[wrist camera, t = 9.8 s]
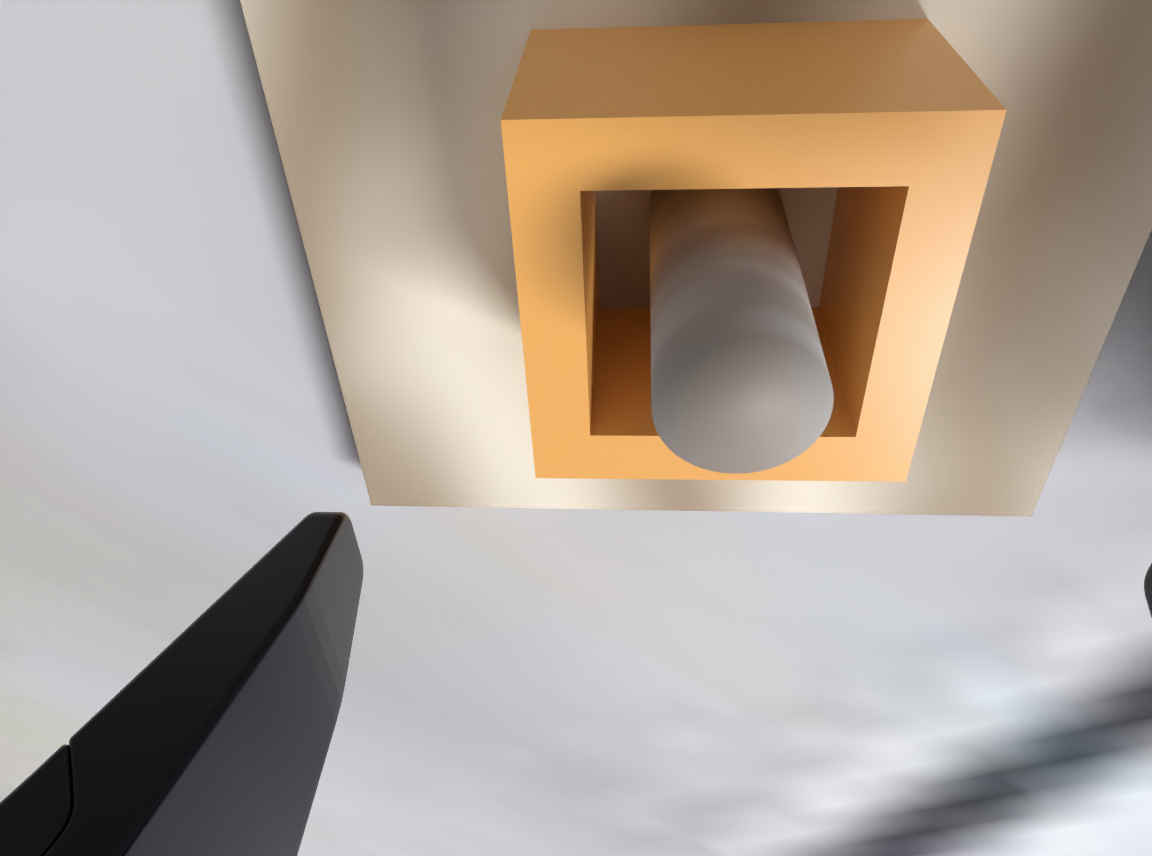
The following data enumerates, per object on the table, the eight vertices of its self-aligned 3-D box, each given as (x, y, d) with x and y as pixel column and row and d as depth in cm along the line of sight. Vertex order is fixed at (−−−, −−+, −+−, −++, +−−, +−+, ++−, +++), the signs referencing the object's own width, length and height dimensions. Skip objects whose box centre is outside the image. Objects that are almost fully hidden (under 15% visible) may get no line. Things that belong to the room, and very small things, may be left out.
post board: (1369, -403, 11) (2006, -485, 6) (1017, 487, 22) (1140, 748, 16) (180, -342, 13) (-164, -366, 7) (380, 478, 23) (299, 719, 17)
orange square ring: (928, 18, 14) (1006, 109, 11) (861, 348, 18) (905, 481, 15) (530, 29, 15) (500, 120, 11) (553, 348, 19) (535, 478, 16)
